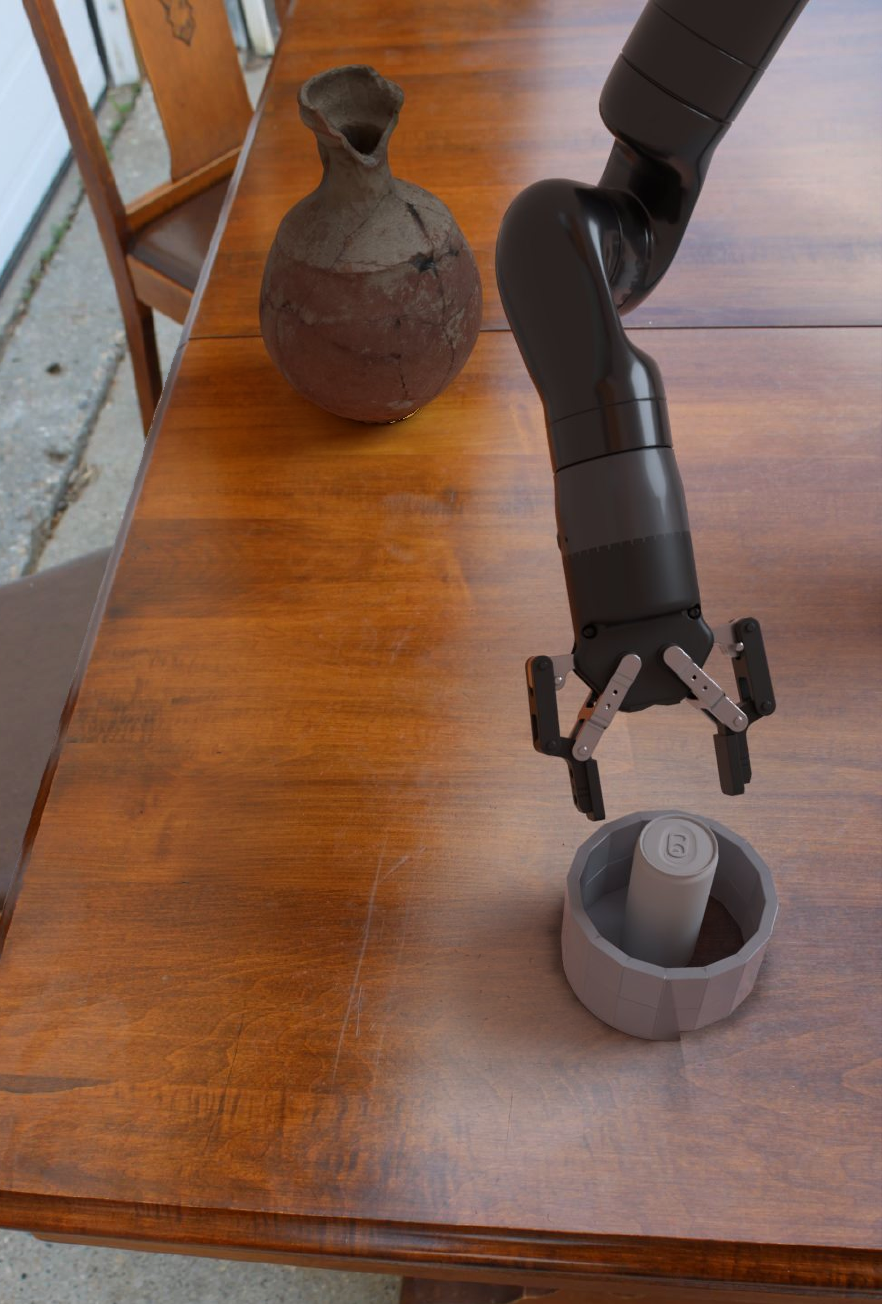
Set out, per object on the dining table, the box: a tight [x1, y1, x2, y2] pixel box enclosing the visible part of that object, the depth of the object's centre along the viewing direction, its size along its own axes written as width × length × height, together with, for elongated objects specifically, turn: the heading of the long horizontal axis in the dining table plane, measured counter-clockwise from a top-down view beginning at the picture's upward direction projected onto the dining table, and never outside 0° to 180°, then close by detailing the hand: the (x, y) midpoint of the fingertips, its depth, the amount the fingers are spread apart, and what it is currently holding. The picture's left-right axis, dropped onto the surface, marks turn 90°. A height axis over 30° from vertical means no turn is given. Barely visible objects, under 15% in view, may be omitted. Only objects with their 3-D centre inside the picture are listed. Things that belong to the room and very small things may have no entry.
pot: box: [560, 809, 780, 1042], centre depth 78 cm, size 13×13×8 cm
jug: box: [258, 63, 484, 425], centre depth 112 cm, size 22×22×30 cm
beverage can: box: [620, 814, 718, 968], centre depth 76 cm, size 5×5×12 cm
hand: (665, 806), depth 73 cm, fingers open, 8 cm apart
